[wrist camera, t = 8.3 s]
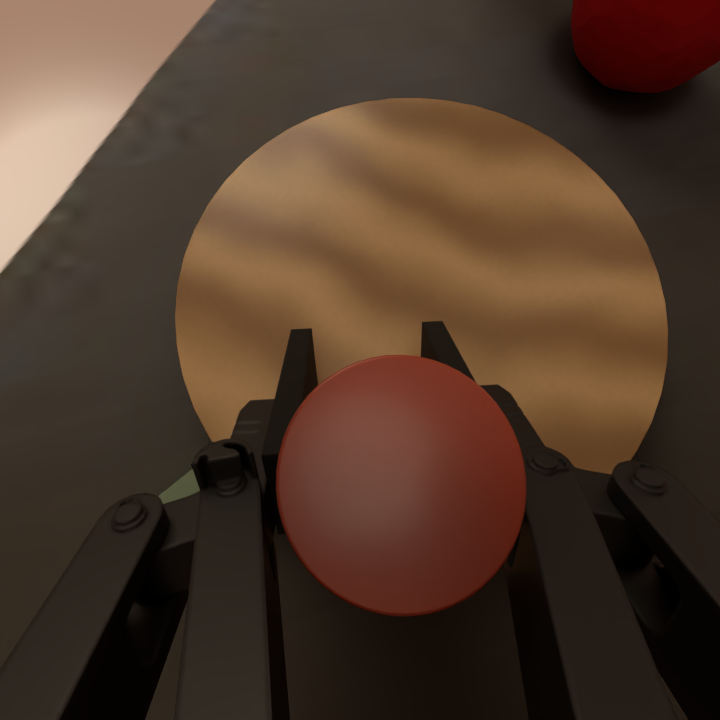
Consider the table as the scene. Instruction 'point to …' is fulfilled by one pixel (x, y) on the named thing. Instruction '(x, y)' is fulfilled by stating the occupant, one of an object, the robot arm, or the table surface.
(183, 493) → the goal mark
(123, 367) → the table surface
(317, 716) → the table surface
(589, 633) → the robot arm
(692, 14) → the fruit
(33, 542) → the table surface
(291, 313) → the wooden round stand
